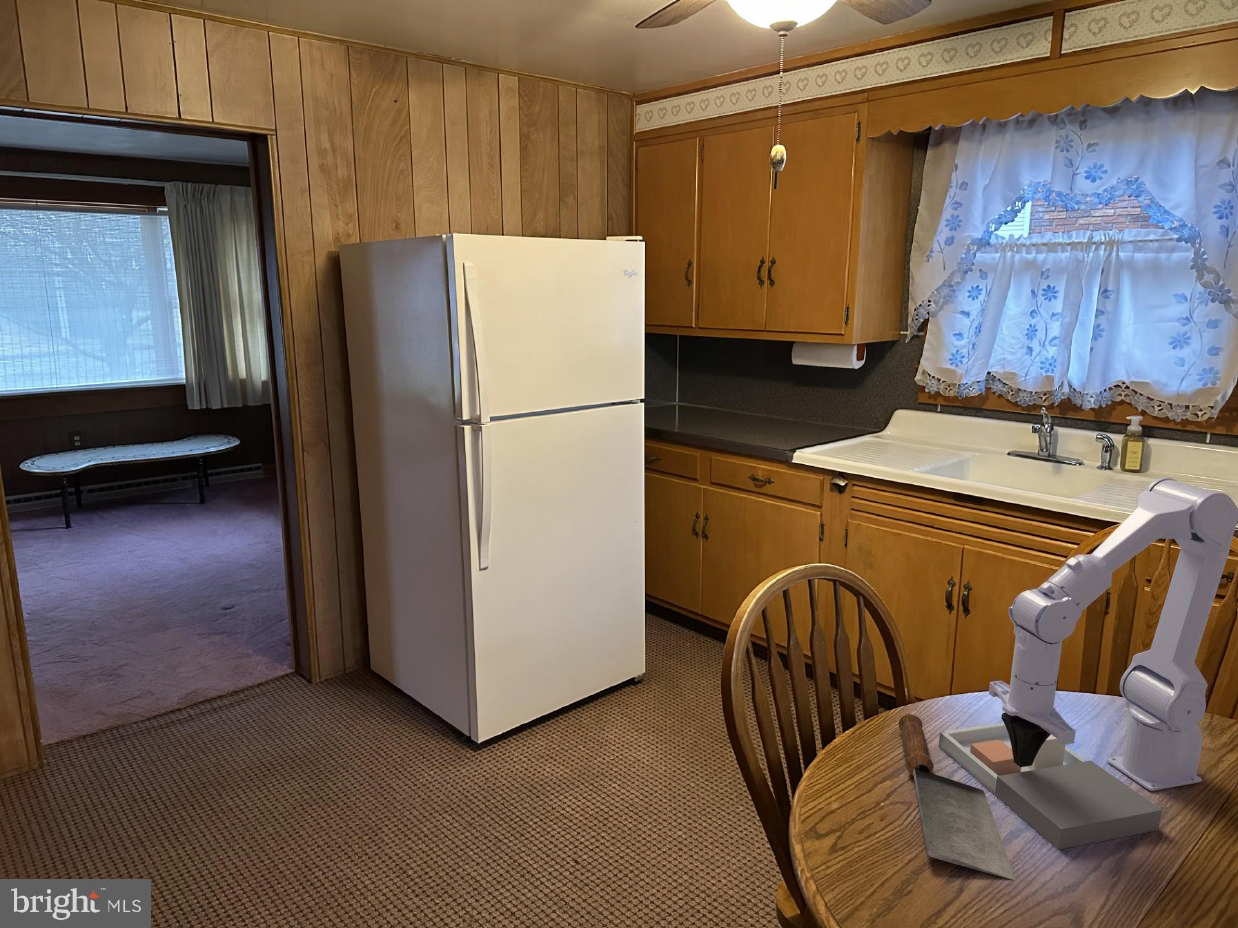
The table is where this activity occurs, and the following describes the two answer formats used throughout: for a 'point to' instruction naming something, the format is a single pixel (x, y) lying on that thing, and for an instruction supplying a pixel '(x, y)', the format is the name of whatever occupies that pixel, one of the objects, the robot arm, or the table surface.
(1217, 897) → the table surface
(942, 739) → the tray
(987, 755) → the tile terracotta
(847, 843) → the table surface
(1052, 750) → the tile white
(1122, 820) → the board
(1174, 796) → the table surface
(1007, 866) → the meat cleaver
